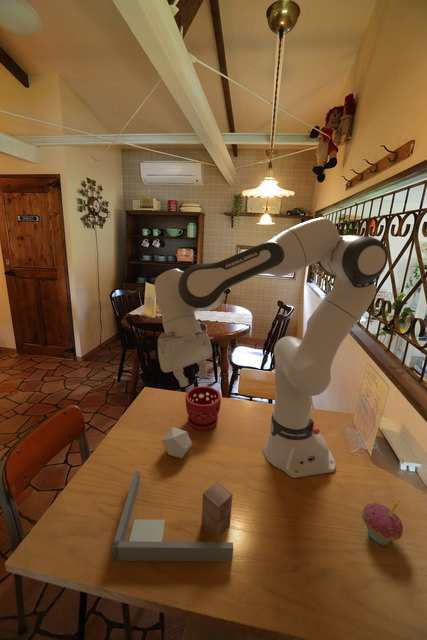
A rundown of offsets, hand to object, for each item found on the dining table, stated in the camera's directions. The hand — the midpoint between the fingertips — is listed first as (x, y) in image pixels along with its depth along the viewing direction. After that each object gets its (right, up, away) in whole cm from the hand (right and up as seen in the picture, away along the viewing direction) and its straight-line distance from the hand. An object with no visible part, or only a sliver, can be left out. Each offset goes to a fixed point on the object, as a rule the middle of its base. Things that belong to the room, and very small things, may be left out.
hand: (194, 381), depth 73 cm
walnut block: (+5, -35, -4) cm, 35 cm away
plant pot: (0, -23, +34) cm, 42 cm away
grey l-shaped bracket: (-4, -34, -2) cm, 34 cm away
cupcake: (+45, -37, -4) cm, 59 cm away
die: (-7, -28, +19) cm, 34 cm away
